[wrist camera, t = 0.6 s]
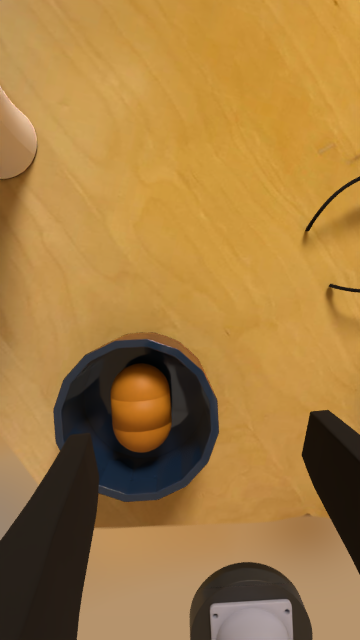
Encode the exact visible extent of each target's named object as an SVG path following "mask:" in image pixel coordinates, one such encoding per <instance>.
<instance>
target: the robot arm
mask: <svg viewBox="0 0 360 640" xmlns="http://www.w3.org/2000/svg"><path fill="white" fill-rule="evenodd" d="M302 457H303V460H304V463H305V465H306V468H307V471H308V473H309V476H310V478H311V481H312V483H313V486H314V488H315V490H316V492H317V494H318V496H319V497H320V499H321V501H322V503H323V505H324V507H325V509H326V511H327V513H328V515H329V516H330V518H331V520H332V522H333V524H334V526H335V528H336V530H337V531H338V533H339V535H340V537H341V539H342V541H343V543H344V544H345V547H346V548H347V550H348V552H349V554H350V556H351V558H352V560H353V562H354V564H355V566H356V568H357V570H358V572H359V574H360V435H359V434H358V433H357V432H356V431H354V430H353V429H352V428H351V427H349V426H348V425H347V424H346V423H344V422H343V421H342V420H340V419H339V418H338V417H337V416H335V415H334V414H333V413H331V412H330V411H329V410H323V411H313V412H310V416H309V421H308V426H307V431H306V436H305V441H304V446H303V451H302ZM98 489H99V473H98V468H97V463H96V458H95V453H94V448H93V444H92V439H91V434H90V433H83V434H73V435H70V436H69V437H68V438H67V440H66V442H65V443H64V445H63V447H62V449H61V450H60V452H59V454H58V456H57V457H56V459H55V461H54V462H53V464H52V466H51V467H50V469H49V471H48V472H47V474H46V475H45V477H44V479H43V480H42V482H41V483H40V485H39V486H38V488H37V489H36V491H35V493H34V494H33V495H32V497H31V499H30V500H29V501H28V503H27V505H26V506H25V507H24V509H23V510H22V511H21V513H20V514H19V516H18V517H17V519H16V520H15V521H14V523H13V524H12V525H11V527H10V528H9V530H8V531H7V533H6V534H5V535H4V537H3V538H2V539H1V540H0V640H77V631H78V621H79V612H80V605H81V598H82V591H83V586H84V580H85V575H86V569H87V563H88V558H89V553H90V547H91V541H92V536H93V530H94V524H95V519H96V513H97V503H98ZM286 609H288V610H287V611H285V610H286ZM214 614H217V615H214ZM210 624H211V640H293V624H292V605H291V602H290V601H289V600H288V599H277V600H260V601H244V602H228V603H214V604H212V605H211V606H210Z"/></svg>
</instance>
